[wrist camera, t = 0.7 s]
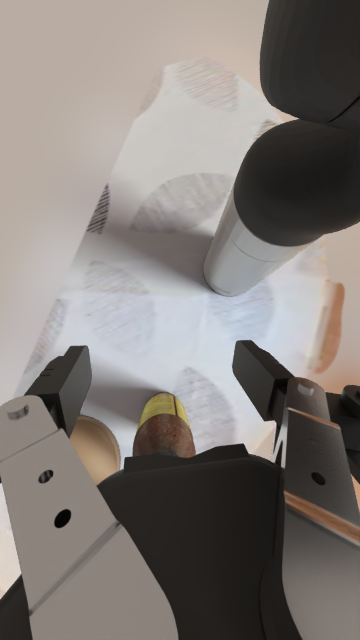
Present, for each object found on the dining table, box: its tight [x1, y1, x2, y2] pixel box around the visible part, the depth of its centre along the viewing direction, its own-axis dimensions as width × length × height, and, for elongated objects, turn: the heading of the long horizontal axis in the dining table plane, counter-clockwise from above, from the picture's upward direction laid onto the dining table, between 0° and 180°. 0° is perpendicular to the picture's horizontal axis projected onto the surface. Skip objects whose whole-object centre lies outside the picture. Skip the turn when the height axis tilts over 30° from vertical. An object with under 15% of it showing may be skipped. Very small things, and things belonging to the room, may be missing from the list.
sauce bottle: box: [133, 393, 196, 458], centre depth 22 cm, size 7×6×20 cm
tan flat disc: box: [69, 416, 121, 486], centre depth 29 cm, size 13×13×3 cm
